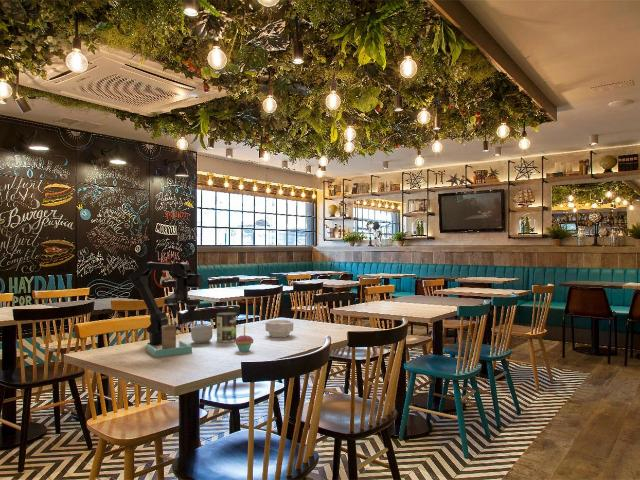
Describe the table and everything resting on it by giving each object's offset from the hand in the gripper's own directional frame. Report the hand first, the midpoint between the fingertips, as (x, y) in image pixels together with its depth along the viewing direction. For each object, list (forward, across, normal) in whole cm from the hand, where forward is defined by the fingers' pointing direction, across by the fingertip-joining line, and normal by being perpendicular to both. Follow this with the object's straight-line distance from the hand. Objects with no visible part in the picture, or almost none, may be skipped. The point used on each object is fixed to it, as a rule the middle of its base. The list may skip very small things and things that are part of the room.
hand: (181, 318), depth 237 cm
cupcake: (+13, +36, +2) cm, 38 cm away
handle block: (+13, +5, -15) cm, 20 cm away
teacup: (+13, +4, +11) cm, 18 cm away
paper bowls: (+13, +32, +41) cm, 54 cm away
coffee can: (+13, +13, +19) cm, 27 cm away
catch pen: (+13, +5, -15) cm, 20 cm away
